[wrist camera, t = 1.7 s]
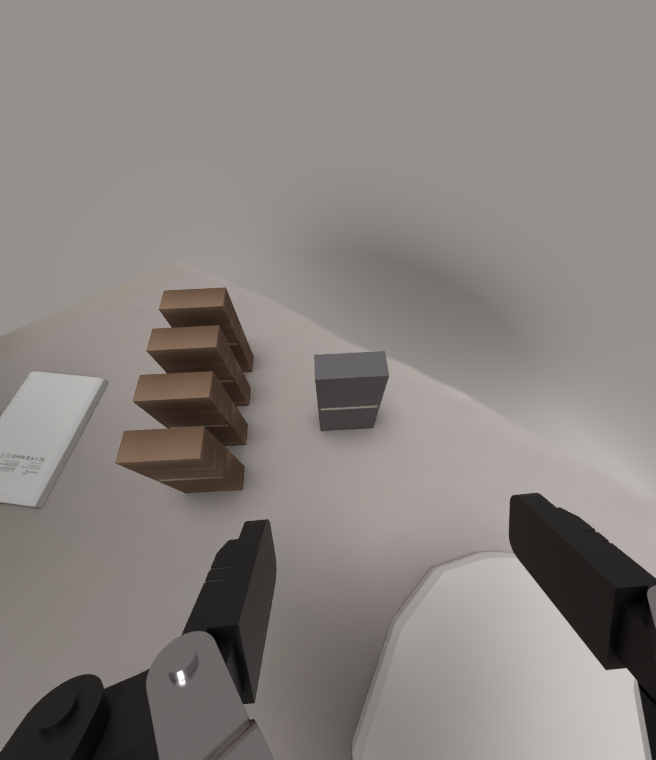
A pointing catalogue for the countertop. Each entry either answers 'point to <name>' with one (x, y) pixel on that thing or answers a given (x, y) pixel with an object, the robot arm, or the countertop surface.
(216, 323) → the domino
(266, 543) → the robot arm
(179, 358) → the domino
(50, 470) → the external hard drive
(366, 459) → the countertop surface
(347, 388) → the domino
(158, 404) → the domino
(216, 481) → the domino
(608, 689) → the decorative plate
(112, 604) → the countertop surface
